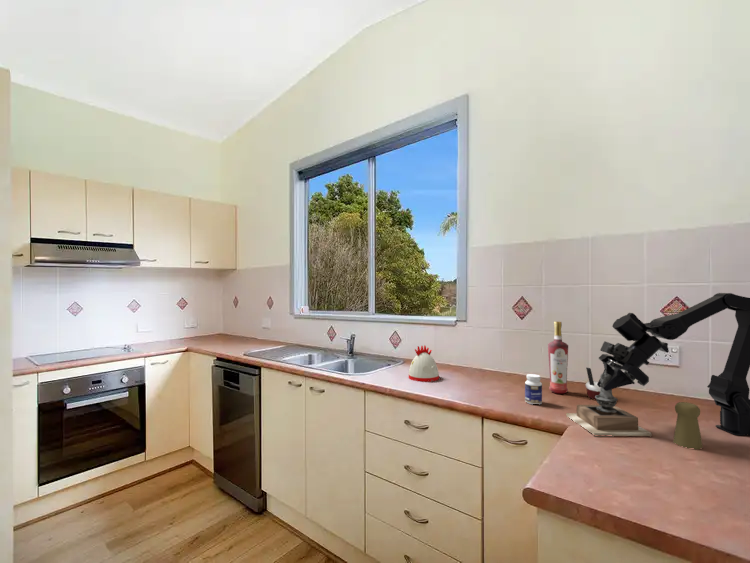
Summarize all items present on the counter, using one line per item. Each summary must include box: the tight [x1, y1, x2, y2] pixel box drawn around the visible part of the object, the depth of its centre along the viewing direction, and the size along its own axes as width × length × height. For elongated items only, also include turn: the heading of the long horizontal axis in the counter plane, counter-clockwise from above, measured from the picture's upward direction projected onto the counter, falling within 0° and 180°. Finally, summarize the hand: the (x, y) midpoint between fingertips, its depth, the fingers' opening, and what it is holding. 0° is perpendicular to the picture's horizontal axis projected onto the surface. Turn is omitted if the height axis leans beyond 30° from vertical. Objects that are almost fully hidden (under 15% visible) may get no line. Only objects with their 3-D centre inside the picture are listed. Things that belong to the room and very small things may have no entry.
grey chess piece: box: [595, 370, 619, 413], centre depth 113 cm, size 6×6×12 cm
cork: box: [672, 401, 704, 450], centre depth 100 cm, size 6×6×11 cm
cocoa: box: [585, 367, 600, 401], centre depth 140 cm, size 10×6×12 cm, turn 98°
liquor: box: [547, 321, 569, 395], centre depth 148 cm, size 7×7×28 cm
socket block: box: [565, 404, 652, 438], centre depth 113 cm, size 16×16×4 cm
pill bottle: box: [524, 373, 543, 405], centre depth 135 cm, size 6×6×10 cm
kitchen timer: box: [408, 344, 440, 383], centre depth 172 cm, size 14×14×15 cm
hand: (601, 387), depth 113 cm, fingers closed on grey chess piece, 4 cm apart
